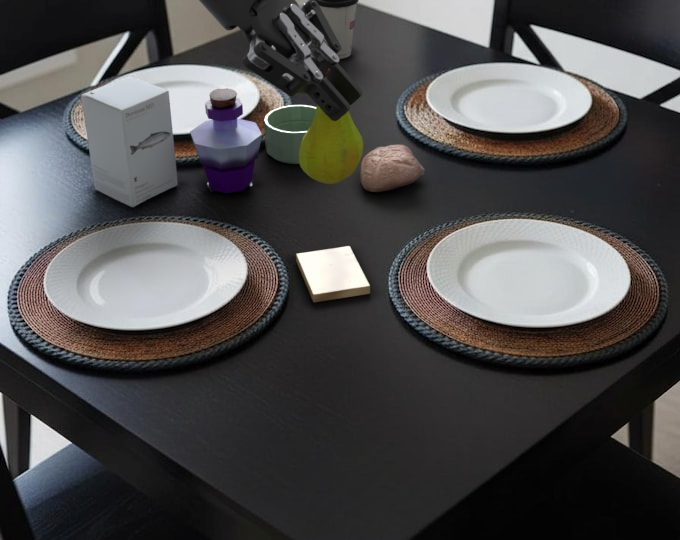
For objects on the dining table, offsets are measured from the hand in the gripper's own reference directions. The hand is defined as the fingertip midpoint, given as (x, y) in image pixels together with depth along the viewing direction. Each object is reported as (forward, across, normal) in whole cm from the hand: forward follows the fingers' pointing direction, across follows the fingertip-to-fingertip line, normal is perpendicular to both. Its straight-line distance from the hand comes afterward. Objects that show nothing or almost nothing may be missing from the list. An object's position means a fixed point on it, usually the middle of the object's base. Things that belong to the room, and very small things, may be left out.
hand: (348, 107), depth 98 cm
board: (+13, 0, +15) cm, 20 cm away
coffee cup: (-2, +58, +31) cm, 66 cm away
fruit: (+5, 0, +7) cm, 9 cm away
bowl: (+3, +26, +26) cm, 37 cm away
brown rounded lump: (+13, +22, +16) cm, 30 cm away
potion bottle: (0, +15, +29) cm, 33 cm away
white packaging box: (-8, +10, +36) cm, 38 cm away
